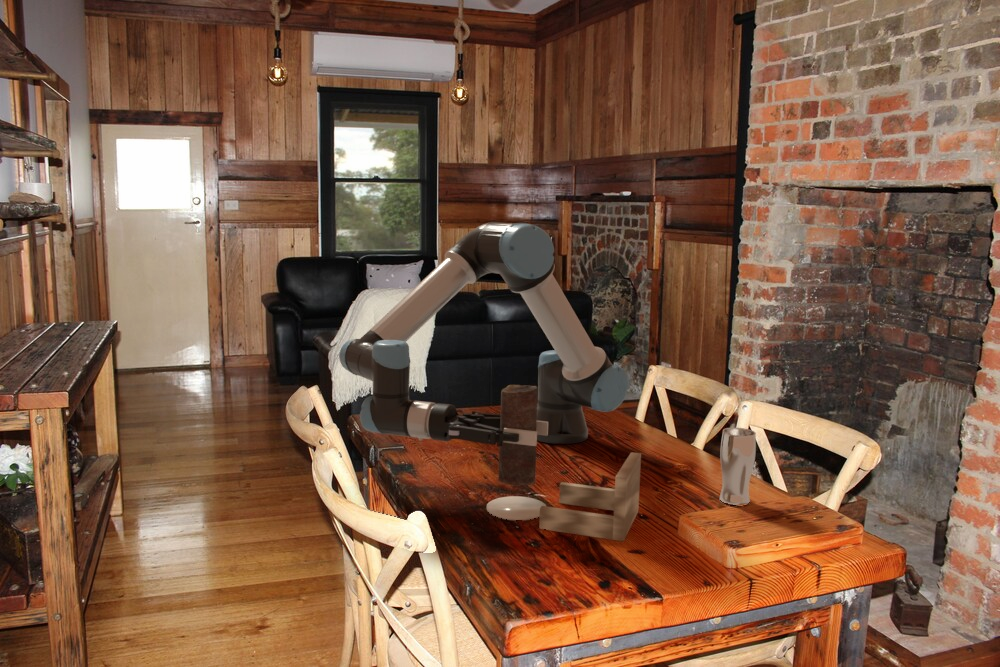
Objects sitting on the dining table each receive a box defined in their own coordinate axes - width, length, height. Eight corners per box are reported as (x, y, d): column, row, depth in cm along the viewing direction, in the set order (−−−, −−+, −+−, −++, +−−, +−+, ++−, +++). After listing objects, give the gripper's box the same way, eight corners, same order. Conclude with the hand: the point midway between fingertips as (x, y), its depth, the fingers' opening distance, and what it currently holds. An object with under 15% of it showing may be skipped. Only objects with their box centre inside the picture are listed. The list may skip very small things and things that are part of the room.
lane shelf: (539, 528, 156) (540, 467, 154) (560, 500, 171) (562, 444, 169) (623, 541, 151) (626, 478, 149) (638, 511, 166) (641, 453, 164)
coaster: (511, 494, 174) (511, 492, 174) (558, 508, 167) (558, 505, 167) (474, 510, 165) (474, 507, 165) (522, 525, 158) (522, 523, 158)
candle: (522, 493, 160) (526, 391, 157) (490, 485, 164) (493, 386, 161) (541, 483, 166) (545, 385, 163) (510, 476, 170) (513, 380, 167)
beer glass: (711, 501, 173) (715, 431, 170) (727, 493, 178) (731, 425, 175) (742, 510, 168) (747, 438, 166) (757, 501, 173) (762, 431, 171)
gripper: (452, 427, 179) (554, 439, 172) (412, 452, 160) (526, 467, 153) (452, 393, 178) (556, 403, 171) (413, 414, 159) (527, 427, 152)
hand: (541, 433), depth 162 cm, fingers closed on candle, 7 cm apart
